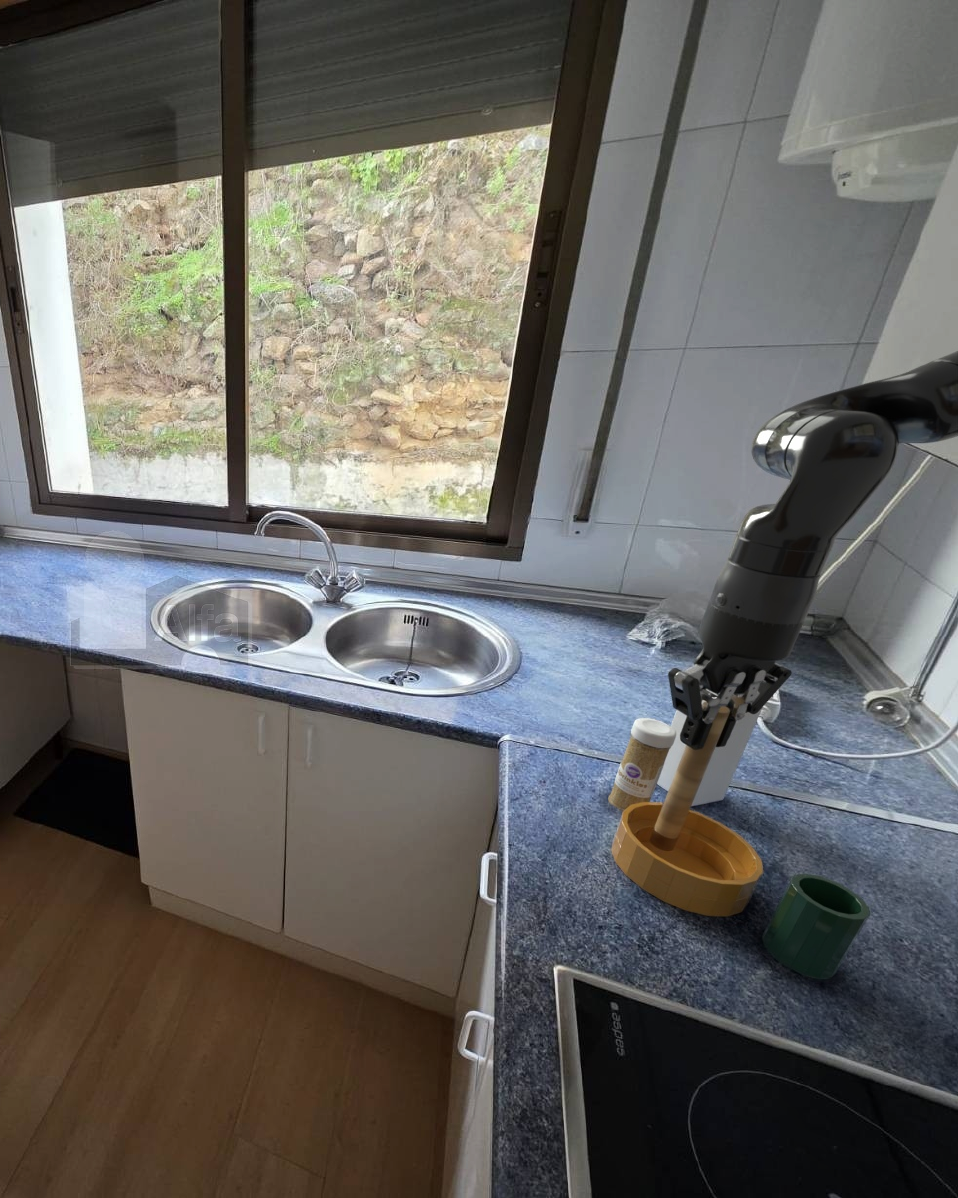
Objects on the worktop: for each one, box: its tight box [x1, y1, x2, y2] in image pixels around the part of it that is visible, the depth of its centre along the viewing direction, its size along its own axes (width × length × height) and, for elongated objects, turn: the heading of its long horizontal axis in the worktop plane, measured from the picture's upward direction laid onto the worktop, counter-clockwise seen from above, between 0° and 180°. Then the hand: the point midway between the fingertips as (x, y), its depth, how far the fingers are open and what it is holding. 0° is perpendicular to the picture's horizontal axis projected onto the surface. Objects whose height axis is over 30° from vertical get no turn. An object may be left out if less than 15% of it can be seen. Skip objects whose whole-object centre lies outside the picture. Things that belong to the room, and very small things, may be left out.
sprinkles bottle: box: [607, 717, 676, 812], centre depth 85 cm, size 5×5×13 cm
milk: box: [657, 681, 766, 807], centre depth 87 cm, size 6×6×22 cm
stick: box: [650, 702, 730, 851], centre depth 74 cm, size 2×2×20 cm
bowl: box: [610, 801, 764, 918], centre depth 76 cm, size 13×13×6 cm
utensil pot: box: [761, 873, 871, 980], centre depth 65 cm, size 6×6×9 cm
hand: (701, 743), depth 72 cm, fingers closed on stick, 2 cm apart
